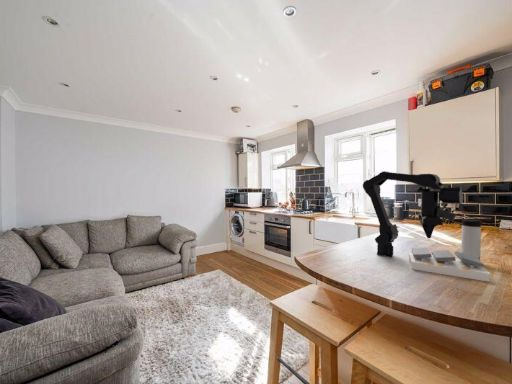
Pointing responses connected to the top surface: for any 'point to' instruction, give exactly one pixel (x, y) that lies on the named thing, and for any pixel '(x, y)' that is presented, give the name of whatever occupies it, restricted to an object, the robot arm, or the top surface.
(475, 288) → the top surface
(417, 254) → the rocker
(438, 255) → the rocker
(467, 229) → the travel mug
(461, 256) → the plate
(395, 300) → the top surface
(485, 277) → the switch unit
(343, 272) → the top surface
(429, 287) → the top surface
